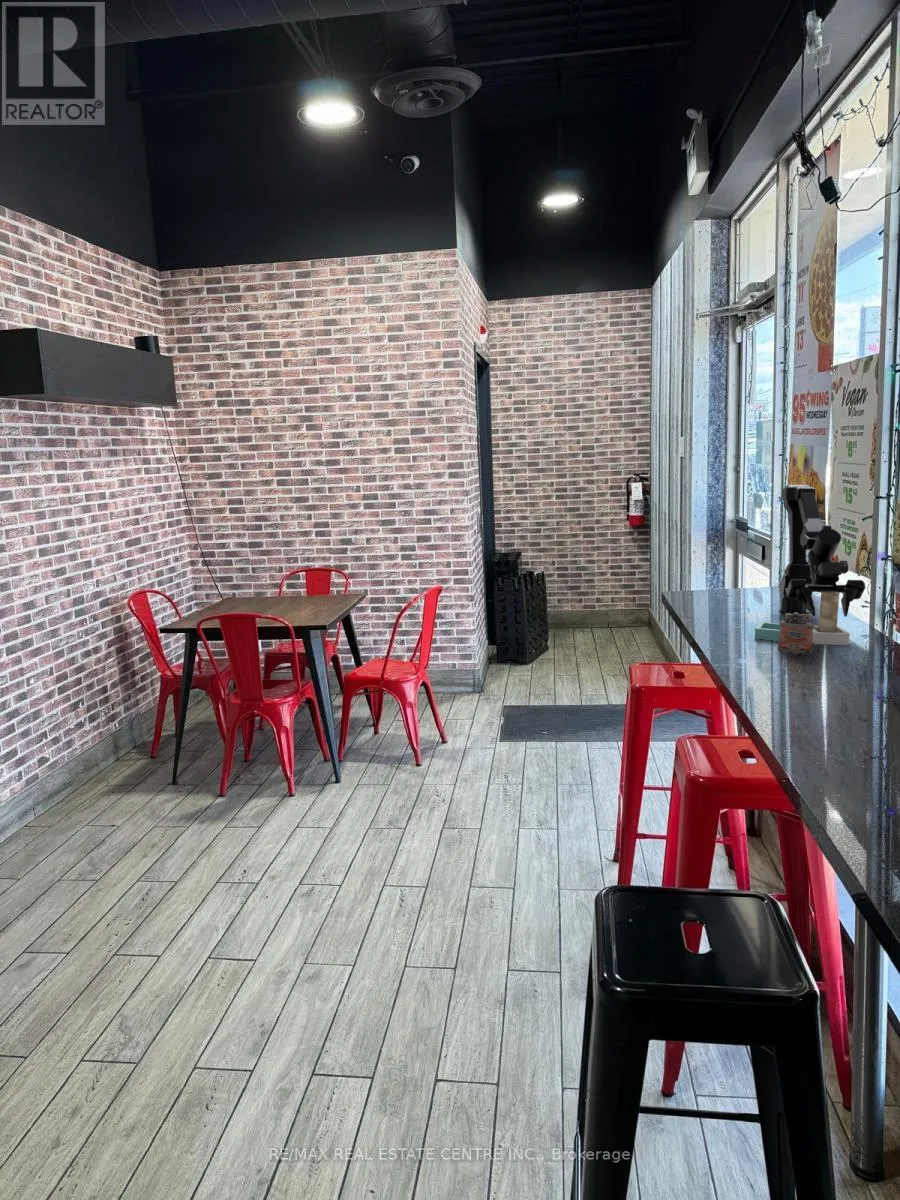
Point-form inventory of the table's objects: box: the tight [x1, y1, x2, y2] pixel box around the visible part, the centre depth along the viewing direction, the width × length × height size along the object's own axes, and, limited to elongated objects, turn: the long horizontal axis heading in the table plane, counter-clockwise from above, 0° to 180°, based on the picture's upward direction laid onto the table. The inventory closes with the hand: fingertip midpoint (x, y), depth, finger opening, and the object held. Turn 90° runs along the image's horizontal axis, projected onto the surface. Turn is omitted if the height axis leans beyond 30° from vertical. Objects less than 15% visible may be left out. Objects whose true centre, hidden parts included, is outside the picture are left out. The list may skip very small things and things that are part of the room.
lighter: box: [777, 612, 815, 655], centre depth 209 cm, size 8×3×10 cm, turn 62°
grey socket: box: [812, 625, 851, 646], centre depth 220 cm, size 9×9×3 cm
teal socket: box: [754, 621, 780, 642], centre depth 224 cm, size 9×9×3 cm
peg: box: [818, 591, 841, 633], centre depth 219 cm, size 4×4×13 cm
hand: (830, 615), depth 218 cm, fingers open, 8 cm apart
